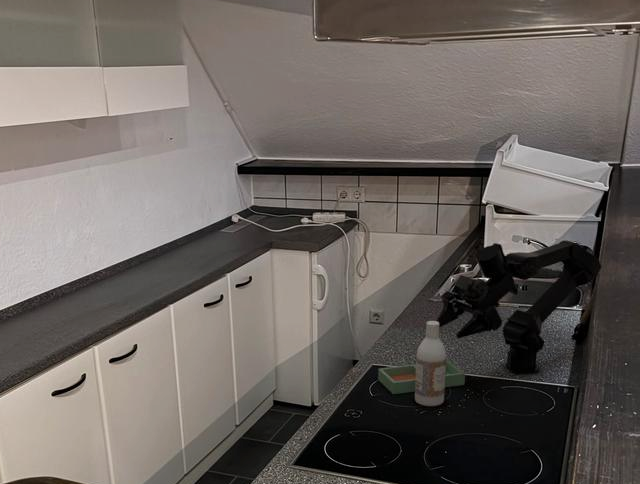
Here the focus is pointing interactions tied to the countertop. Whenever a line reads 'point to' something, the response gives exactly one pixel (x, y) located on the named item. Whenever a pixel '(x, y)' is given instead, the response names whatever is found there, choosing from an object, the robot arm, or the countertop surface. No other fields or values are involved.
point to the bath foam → (430, 368)
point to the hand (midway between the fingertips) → (445, 331)
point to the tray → (405, 376)
